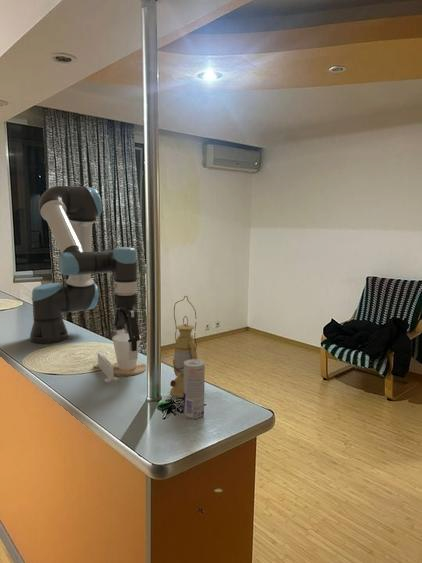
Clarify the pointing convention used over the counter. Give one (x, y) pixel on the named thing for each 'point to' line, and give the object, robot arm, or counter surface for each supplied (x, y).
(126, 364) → the cup
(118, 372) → the cork coaster
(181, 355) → the lantern
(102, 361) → the acrylic wall
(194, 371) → the beverage can
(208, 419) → the counter surface
